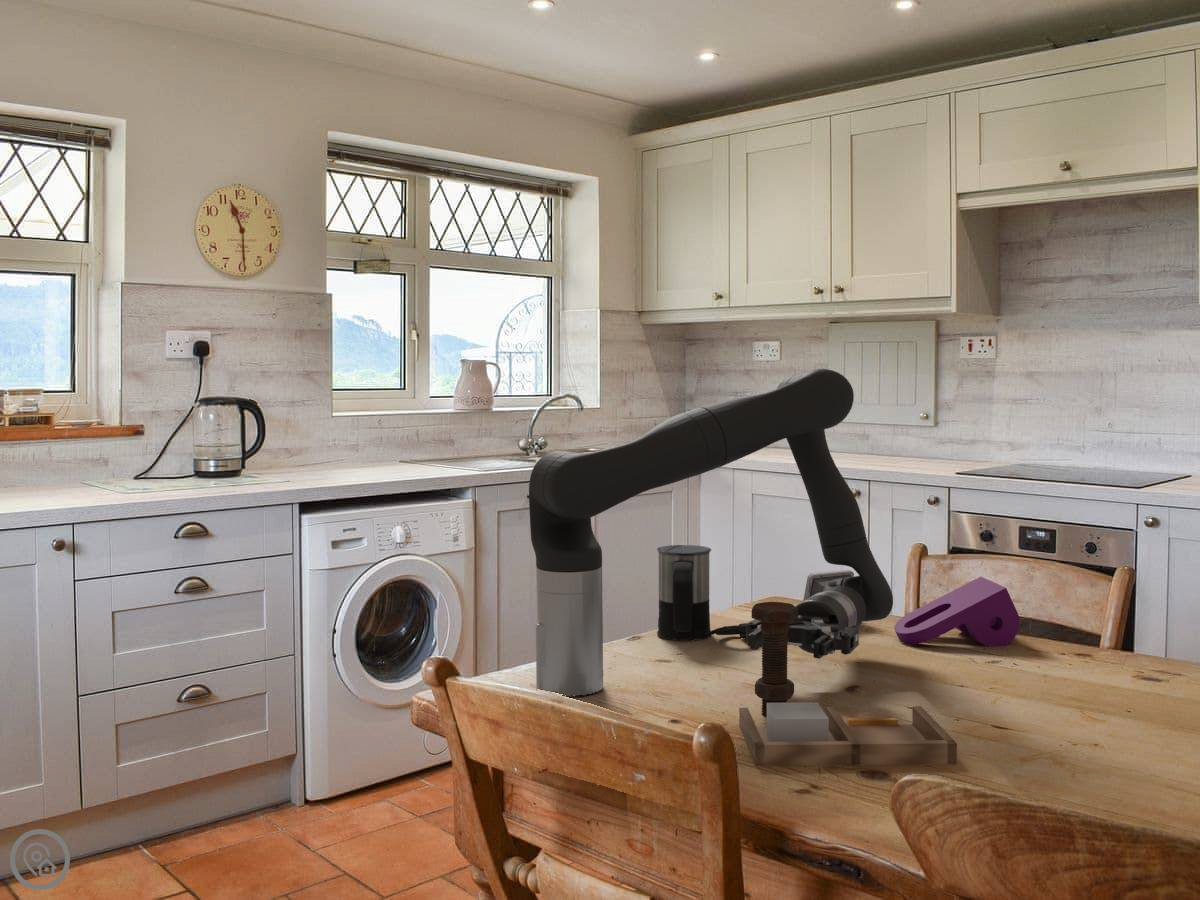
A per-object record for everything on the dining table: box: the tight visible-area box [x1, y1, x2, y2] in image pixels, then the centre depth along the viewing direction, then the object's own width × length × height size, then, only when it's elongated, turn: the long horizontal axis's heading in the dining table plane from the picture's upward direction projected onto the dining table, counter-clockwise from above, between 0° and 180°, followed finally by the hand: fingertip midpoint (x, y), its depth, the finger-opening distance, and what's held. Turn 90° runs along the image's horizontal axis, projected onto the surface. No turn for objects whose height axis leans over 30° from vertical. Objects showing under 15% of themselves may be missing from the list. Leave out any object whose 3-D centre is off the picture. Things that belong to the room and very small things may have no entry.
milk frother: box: [656, 544, 748, 642], centre depth 177 cm, size 14×16×15 cm
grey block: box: [766, 701, 829, 742], centre depth 123 cm, size 6×6×4 cm
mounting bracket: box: [893, 576, 1021, 647], centre depth 175 cm, size 10×8×18 cm
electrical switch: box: [802, 569, 855, 602], centre depth 187 cm, size 9×5×9 cm, turn 113°
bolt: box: [751, 601, 798, 718], centre depth 133 cm, size 6×5×15 cm
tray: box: [738, 705, 958, 767], centre depth 123 cm, size 22×14×4 cm, turn 90°
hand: (784, 646), depth 136 cm, fingers open, 8 cm apart
